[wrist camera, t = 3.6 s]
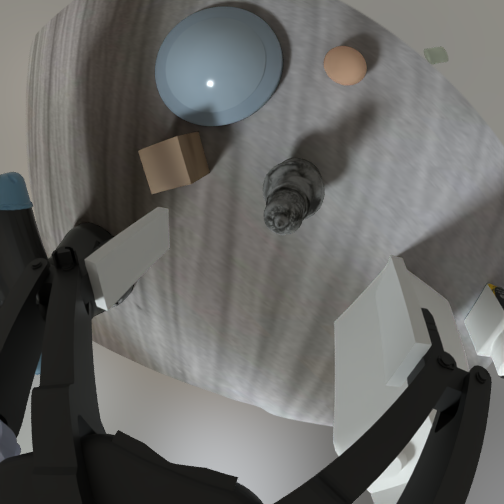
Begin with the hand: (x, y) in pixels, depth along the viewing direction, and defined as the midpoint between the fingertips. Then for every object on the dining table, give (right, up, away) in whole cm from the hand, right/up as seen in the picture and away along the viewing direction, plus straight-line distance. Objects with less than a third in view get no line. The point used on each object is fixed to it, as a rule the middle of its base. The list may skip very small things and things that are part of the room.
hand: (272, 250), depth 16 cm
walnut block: (-9, +11, +15) cm, 20 cm away
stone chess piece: (+4, +7, +13) cm, 16 cm away
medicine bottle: (+34, -8, +13) cm, 37 cm away
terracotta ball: (+7, +17, +4) cm, 19 cm away
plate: (-5, +20, +9) cm, 22 cm away
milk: (+18, -8, +18) cm, 26 cm away
